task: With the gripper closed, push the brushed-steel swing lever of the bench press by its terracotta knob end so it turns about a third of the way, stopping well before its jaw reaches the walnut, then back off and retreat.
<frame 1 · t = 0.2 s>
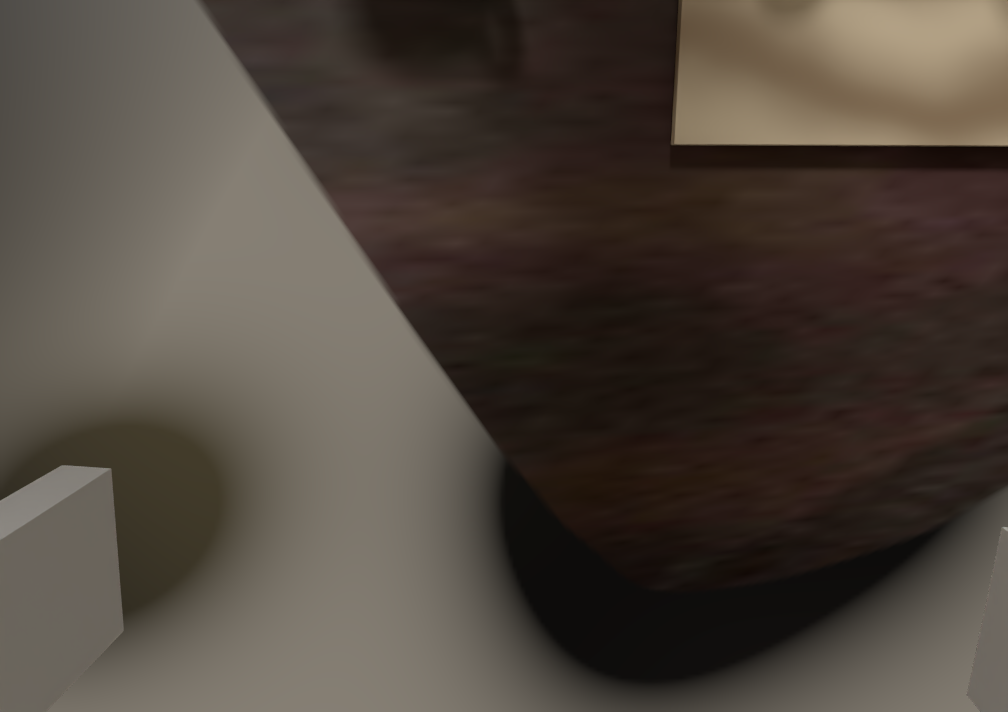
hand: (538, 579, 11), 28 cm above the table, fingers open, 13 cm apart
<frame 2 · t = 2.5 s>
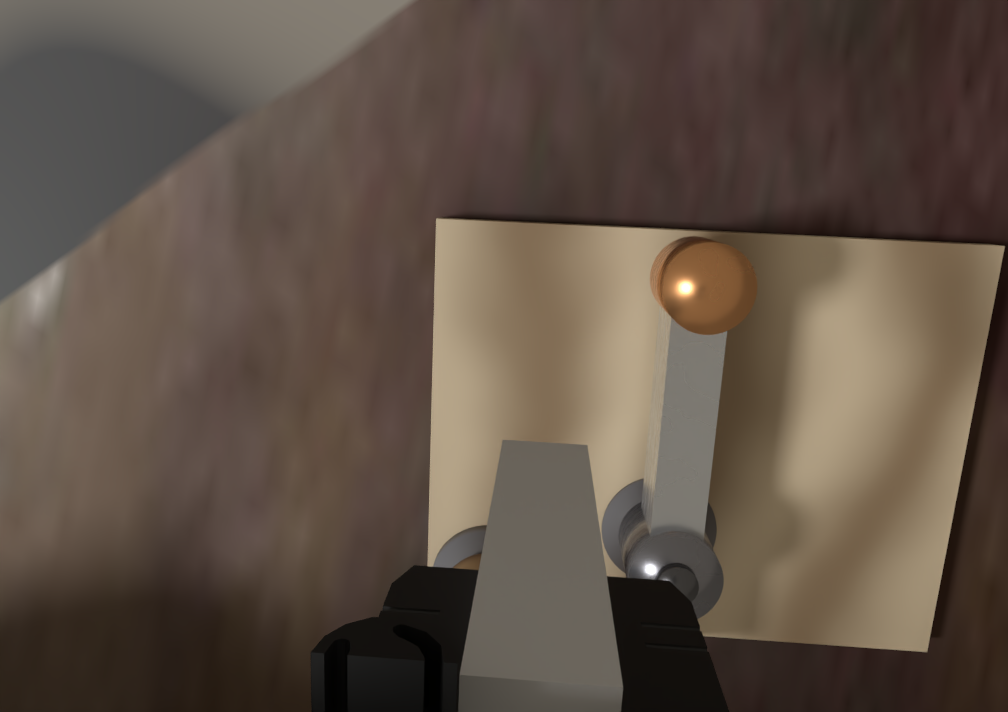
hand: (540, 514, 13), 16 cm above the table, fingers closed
press base: (688, 437, 29), on the table
lever: (678, 469, 26), point 4 cm above the table, hinge at 0.0°
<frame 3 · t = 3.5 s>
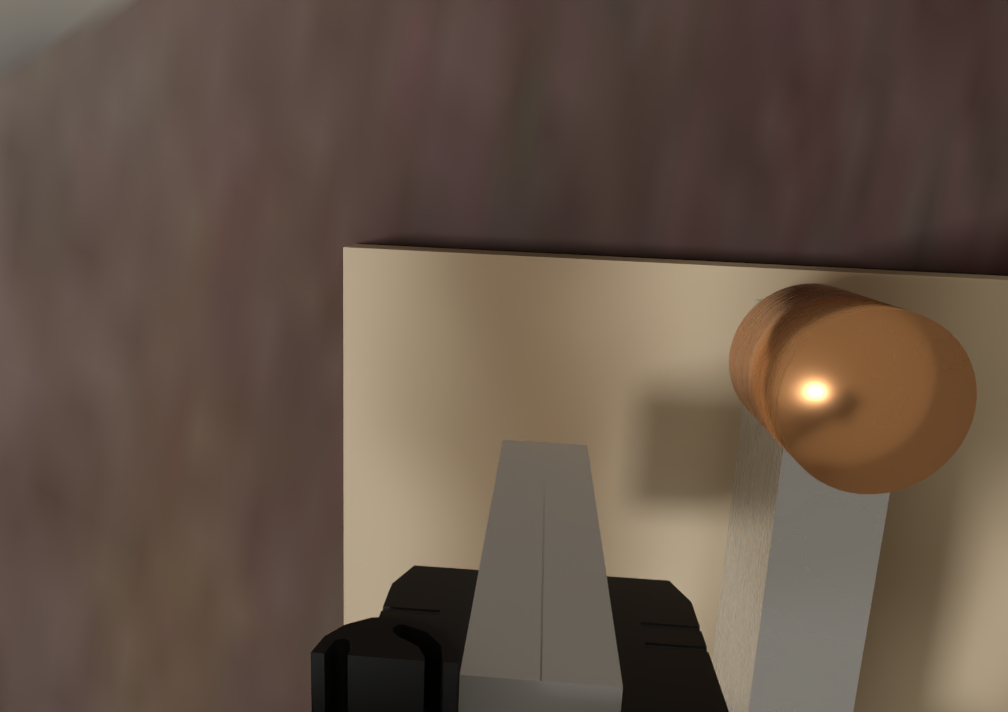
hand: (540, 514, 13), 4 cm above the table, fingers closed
press base: (775, 607, 18), on the table
lever: (779, 707, 14), point 4 cm above the table, hinge at 0.0°
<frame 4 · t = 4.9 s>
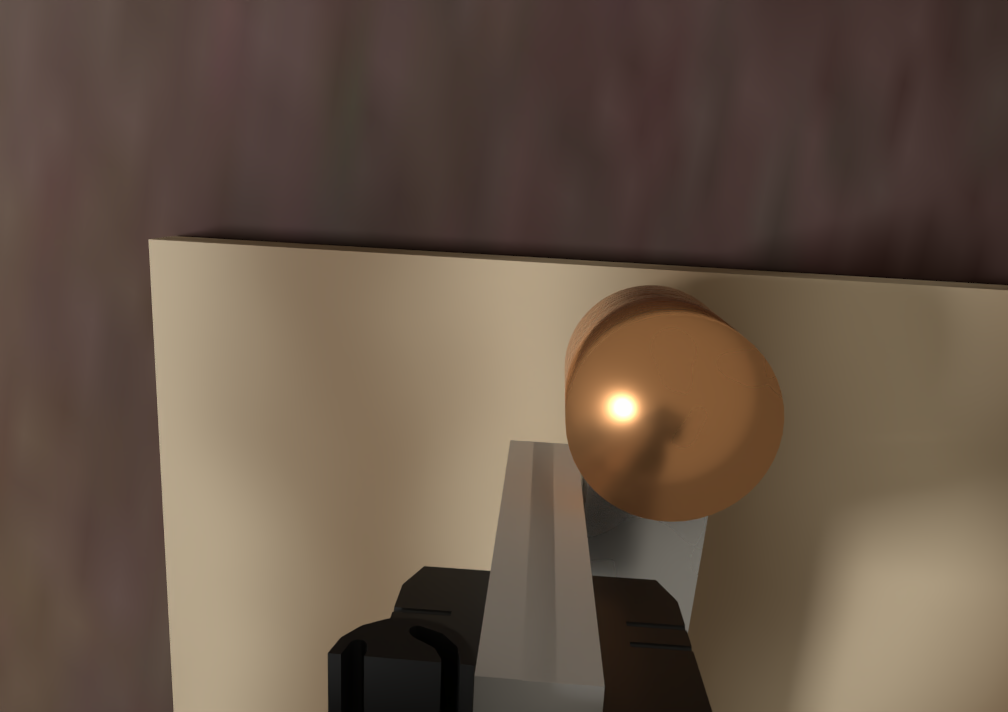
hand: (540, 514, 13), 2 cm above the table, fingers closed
press base: (631, 628, 16), on the table
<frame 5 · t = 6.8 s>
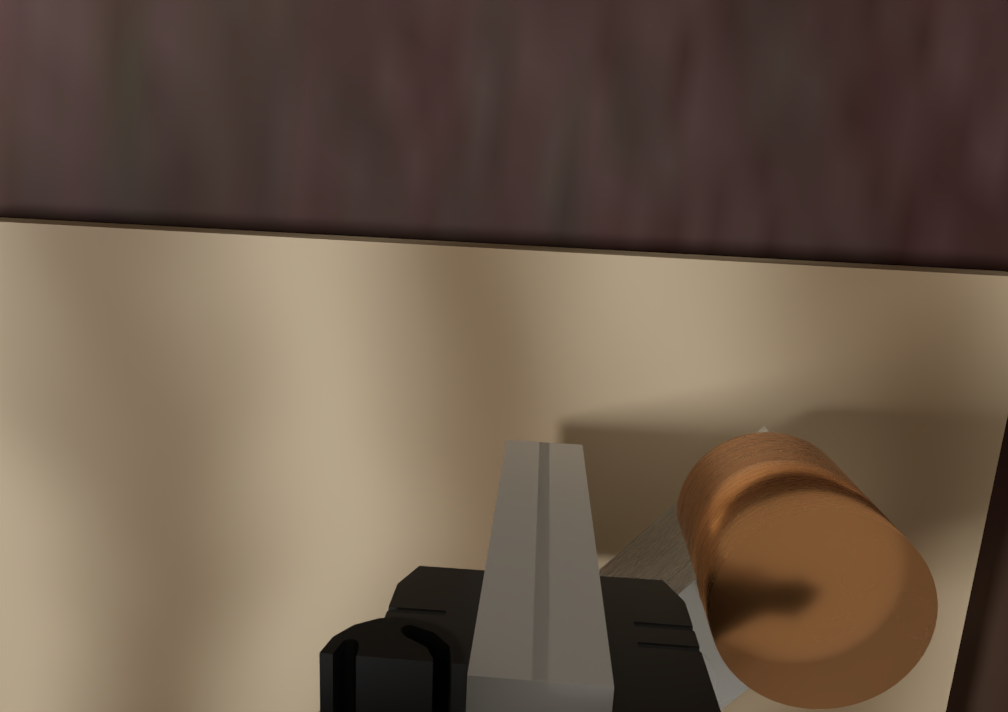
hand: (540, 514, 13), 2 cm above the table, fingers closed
press base: (446, 615, 16), on the table
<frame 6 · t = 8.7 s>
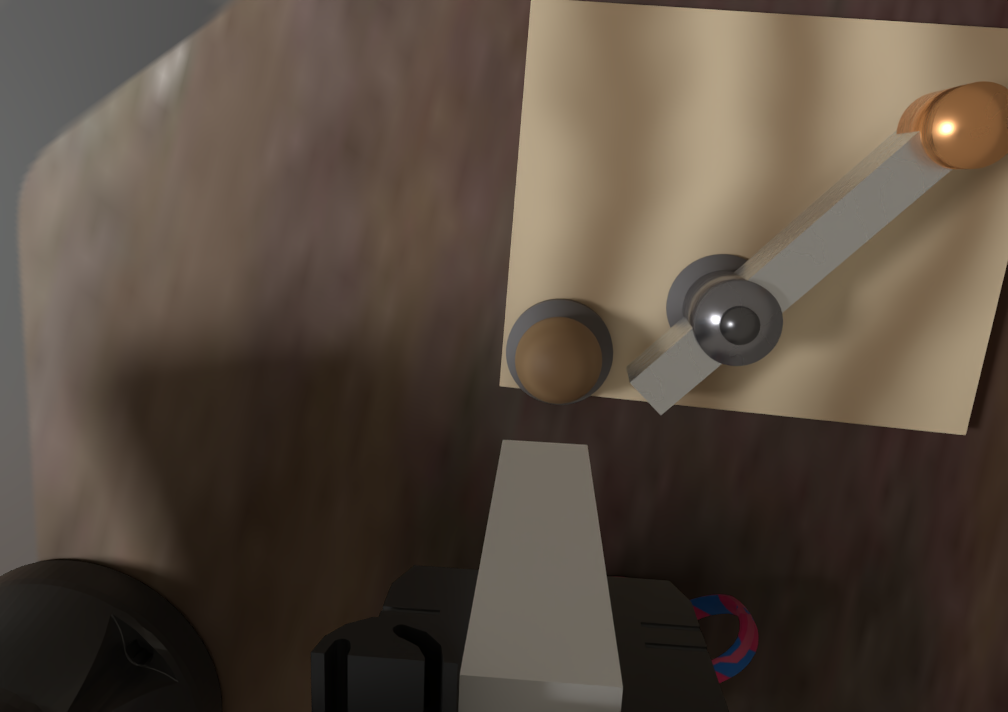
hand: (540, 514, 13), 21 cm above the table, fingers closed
press base: (751, 223, 32), on the table
mug: (645, 620, 37), on the table
lever: (802, 255, 28), point 4 cm above the table, hinge at 41.2°
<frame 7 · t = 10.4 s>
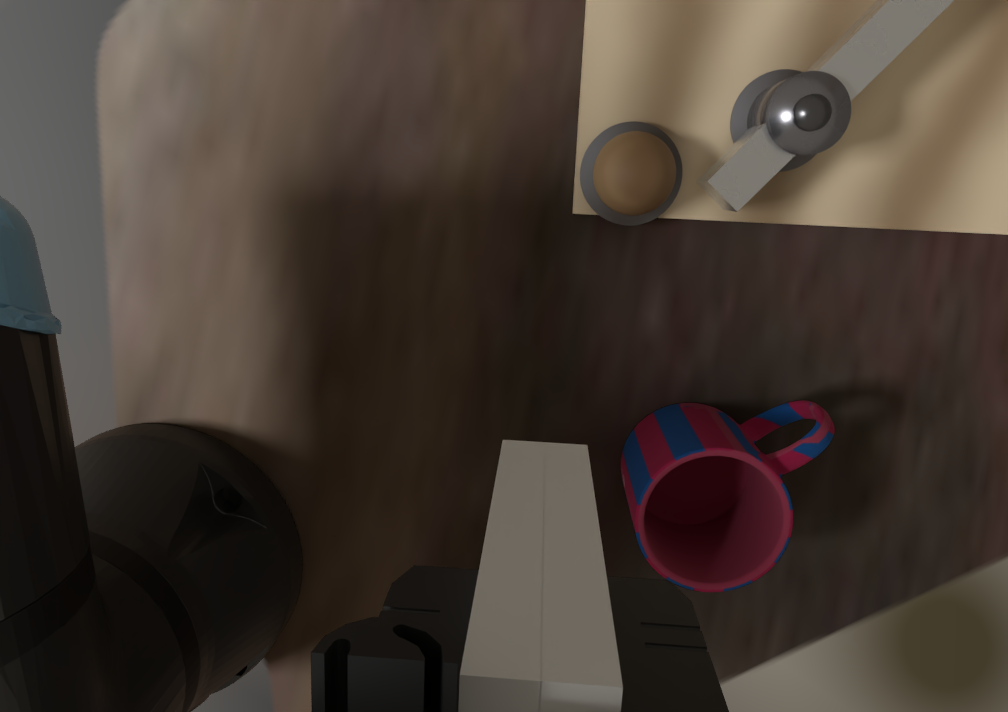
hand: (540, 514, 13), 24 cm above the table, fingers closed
press base: (805, 43, 34), on the table
mug: (713, 447, 39), on the table
lever: (863, 52, 31), point 4 cm above the table, hinge at 41.2°
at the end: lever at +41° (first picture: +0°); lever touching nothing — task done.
